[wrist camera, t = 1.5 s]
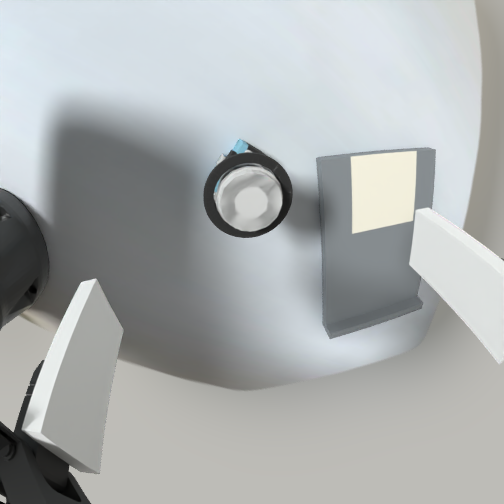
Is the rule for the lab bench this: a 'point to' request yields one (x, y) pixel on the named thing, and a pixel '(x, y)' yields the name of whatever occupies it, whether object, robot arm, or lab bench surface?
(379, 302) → the grey lipped board
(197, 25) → the lab bench surface
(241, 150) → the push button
